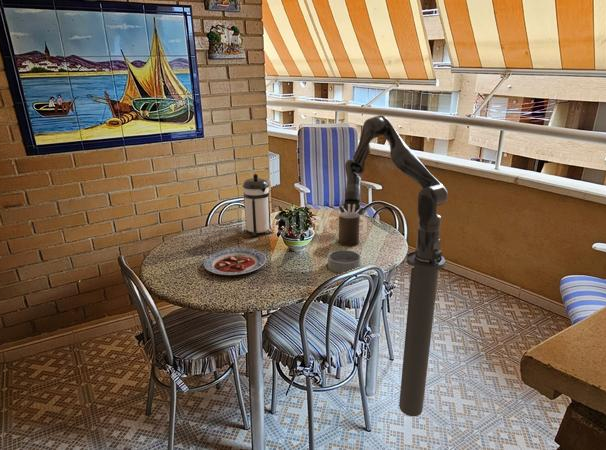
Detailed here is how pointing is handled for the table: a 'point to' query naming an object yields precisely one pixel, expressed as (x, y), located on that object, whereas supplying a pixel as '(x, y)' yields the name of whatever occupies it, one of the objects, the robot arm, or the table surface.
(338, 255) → the pan
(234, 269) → the ceramic plate
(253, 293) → the table surface
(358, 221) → the pillar candle
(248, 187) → the coffee press
